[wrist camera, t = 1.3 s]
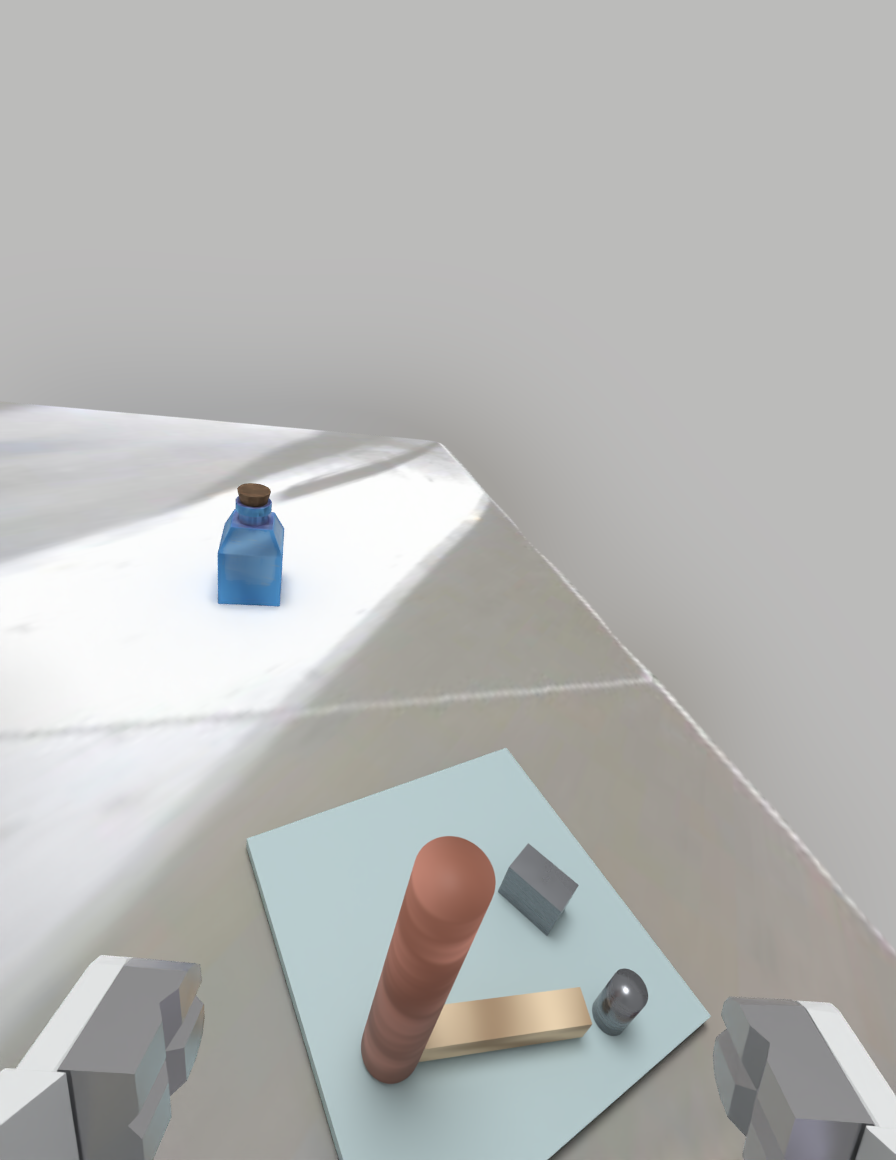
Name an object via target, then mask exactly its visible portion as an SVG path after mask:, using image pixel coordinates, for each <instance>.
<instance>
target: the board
mask: <svg viewBox="0 0 896 1160" xmlns="http://www.w3.org/2000/svg"><path fill="white" fill-rule="evenodd" d="M443 836H455V837H460V838H463V839H466V840H468V841H470V842H472V843H474V844H475V845H477V846H478V847H479V848H480V849H481V850H482V851H483V852H484V853H485V854H486V856H487V857H488V859H489V860H490V862H491V864H492V866H493V869H494V873H495V880H496V885H495V892H494V895H493V898H492V900H491V902H490V905H489V907H488V909H487V911H486V914H485V916H484V918H483V920H482V922H481V925H480V927H479V929H478V931H477V933H476V936H475V938H474V940H473V942H472V945H471V947H470V949H469V951H468V953H467V956H466V958H465V960H464V962H463V965H462V967H461V969H460V971H459V973H458V976H457V978H456V980H455V982H454V984H453V987H452V989H451V991H450V993H449V996H448V998H447V1000H446V1002H445V1004H451V1003H459V1002H467V1001H474V1000H482V999H490V998H498V997H506V996H513V995H521V994H529V993H537V992H545V991H552V990H560V989H568V988H576V987H580V988H581V991H582V994H583V997H584V1000H585V1003H586V1006H587V1009H588V1012H589V1015H590V1018H591V1021H592V1025H591V1027H590V1028H589V1029H588V1031H587V1032H586V1033H585V1034H584V1036H583V1037H579V1038H573V1039H566V1040H560V1041H553V1042H547V1043H540V1044H534V1045H527V1046H521V1047H514V1048H508V1049H501V1050H495V1051H488V1052H482V1053H475V1054H469V1055H463V1056H456V1057H450V1058H443V1059H437V1060H430V1061H424V1062H418V1064H417V1066H416V1068H415V1070H414V1071H413V1073H412V1074H411V1075H410V1076H409V1077H408V1078H406V1079H405V1080H403V1081H401V1082H399V1083H395V1084H386V1083H383V1082H380V1081H378V1080H377V1079H375V1078H374V1077H373V1076H372V1075H371V1074H370V1073H369V1072H368V1070H367V1068H366V1066H365V1064H364V1062H363V1058H362V1053H361V1041H362V1036H363V1032H364V1029H365V1026H366V1022H367V1019H368V1016H369V1012H370V1009H371V1006H372V1002H373V999H374V996H375V992H376V989H377V986H378V982H379V979H380V976H381V972H382V969H383V966H384V962H385V959H386V956H387V952H388V949H389V946H390V942H391V939H392V936H393V932H394V929H395V926H396V922H397V919H398V916H399V912H400V909H401V906H402V902H403V899H404V896H405V892H406V889H407V886H408V882H409V879H410V876H411V872H412V869H413V866H414V862H415V859H416V857H417V855H418V853H419V851H420V850H421V849H422V847H423V846H424V845H426V844H427V843H428V842H430V841H431V840H433V839H436V838H439V837H443ZM528 843H529V844H530V845H531V846H532V847H534V848H535V849H536V850H537V851H538V852H540V853H541V854H542V855H543V856H544V857H546V858H547V859H548V860H549V861H550V862H552V863H553V864H554V865H555V866H556V867H558V868H559V869H560V870H561V871H562V872H564V873H565V874H566V875H567V876H569V877H570V878H571V879H572V880H573V881H575V882H576V883H577V884H578V885H579V886H578V888H577V889H576V891H575V893H574V894H573V896H572V898H571V899H570V901H569V903H568V905H567V906H566V908H565V910H564V911H563V913H562V914H561V916H560V917H559V919H558V920H557V922H556V923H555V925H554V927H553V928H552V930H551V931H550V933H549V934H548V936H546V935H545V934H544V933H543V932H542V931H541V930H539V929H538V928H537V927H536V926H535V925H534V924H533V923H532V922H531V921H529V920H528V919H527V918H526V917H525V916H524V915H523V914H522V913H521V912H520V911H518V910H517V909H516V908H515V907H514V906H513V905H512V904H511V903H510V902H508V901H507V900H506V899H505V898H504V897H503V896H502V895H501V894H500V893H499V892H498V890H499V888H500V885H501V883H502V881H503V879H504V877H505V875H506V872H507V870H508V868H509V866H510V865H511V864H512V862H513V861H514V860H515V859H516V858H517V856H518V855H519V854H520V853H521V851H522V850H523V849H524V848H525V846H526V845H527V844H528ZM247 851H248V854H249V857H250V861H251V864H252V868H253V871H254V874H255V878H256V881H257V884H258V888H259V891H260V895H261V898H262V901H263V905H264V908H265V911H266V915H267V918H268V922H269V925H270V928H271V932H272V935H273V938H274V942H275V945H276V948H277V952H278V955H279V959H280V962H281V965H282V969H283V972H284V975H285V979H286V982H287V986H288V989H289V992H290V996H291V999H292V1002H293V1006H294V1009H295V1013H296V1016H297V1019H298V1023H299V1026H300V1029H301V1033H302V1036H303V1040H304V1043H305V1046H306V1050H307V1053H308V1056H309V1060H310V1063H311V1067H312V1070H313V1073H314V1077H315V1080H316V1083H317V1087H318V1090H319V1094H320V1097H321V1100H322V1104H323V1107H324V1110H325V1114H326V1117H327V1121H328V1124H329V1127H330V1131H331V1134H332V1137H333V1141H334V1144H335V1148H336V1151H337V1154H338V1158H339V1160H548V1159H549V1158H551V1157H552V1156H553V1155H554V1154H555V1153H556V1152H557V1151H559V1150H560V1149H561V1148H562V1147H563V1146H564V1145H565V1144H567V1143H568V1142H569V1141H570V1140H571V1139H572V1138H573V1137H575V1136H576V1135H577V1134H578V1133H579V1132H580V1131H581V1130H583V1129H584V1128H585V1127H586V1126H587V1125H588V1124H589V1123H590V1122H592V1121H593V1120H594V1119H595V1118H596V1117H597V1116H598V1115H600V1114H601V1113H602V1112H603V1111H604V1110H605V1109H606V1108H608V1107H609V1106H610V1105H611V1104H612V1103H613V1102H614V1101H616V1100H617V1099H618V1098H619V1097H620V1096H621V1095H622V1094H624V1093H625V1092H626V1091H627V1090H628V1089H629V1088H630V1087H632V1086H633V1085H634V1084H635V1083H636V1082H637V1081H638V1080H640V1079H641V1078H642V1077H643V1076H644V1075H645V1074H646V1073H647V1072H649V1071H650V1070H651V1069H652V1068H653V1067H654V1066H655V1065H657V1064H658V1063H659V1062H660V1061H661V1060H662V1059H663V1058H665V1057H666V1056H667V1055H668V1054H669V1053H670V1052H671V1051H673V1050H674V1049H675V1048H676V1047H677V1046H678V1045H679V1044H681V1043H682V1042H683V1041H684V1040H685V1039H686V1038H687V1037H689V1036H690V1035H691V1034H692V1033H693V1032H694V1031H695V1030H696V1029H698V1028H699V1027H700V1026H701V1025H702V1024H703V1023H704V1022H705V1021H706V1020H707V1019H709V1018H710V1017H711V1016H710V1014H709V1013H708V1012H707V1011H706V1009H705V1008H704V1007H703V1005H702V1004H701V1003H700V1001H699V1000H698V999H697V997H696V996H695V995H694V993H693V992H692V991H691V990H690V988H689V987H688V986H687V984H686V983H685V982H684V980H683V979H682V978H681V976H680V975H679V974H678V972H677V971H676V970H675V969H674V967H673V966H672V965H671V963H670V962H669V961H668V959H667V958H666V957H665V955H664V954H663V953H662V952H661V950H660V949H659V948H658V946H657V945H656V944H655V942H654V941H653V940H652V938H651V937H650V936H649V934H648V933H647V932H646V931H645V929H644V928H643V927H642V925H641V924H640V923H639V921H638V920H637V919H636V917H635V916H634V915H633V913H632V912H631V911H630V910H629V908H628V907H627V906H626V904H625V903H624V902H623V900H622V899H621V898H620V896H619V895H618V894H617V892H616V891H615V890H614V889H613V887H612V886H611V885H610V883H609V882H608V881H607V879H606V878H605V877H604V875H603V874H602V873H601V872H600V870H599V869H598V868H597V866H596V865H595V864H594V862H593V861H592V860H591V858H590V857H589V856H588V854H587V853H586V852H585V851H584V849H583V848H582V847H581V845H580V844H579V843H578V841H577V840H576V839H575V837H574V836H573V835H572V833H571V832H570V831H569V830H568V828H567V827H566V826H565V824H564V823H563V822H562V820H561V819H560V818H559V816H558V815H557V814H556V813H555V811H554V810H553V809H552V807H551V806H550V805H549V803H548V802H547V801H546V799H545V798H544V797H543V795H542V794H541V793H540V792H539V790H538V789H537V788H536V786H535V785H534V784H533V782H532V781H531V780H530V778H529V777H528V776H527V774H526V773H525V772H524V771H523V769H522V768H521V767H520V765H519V764H518V763H517V761H516V760H515V759H514V757H513V756H512V755H511V753H510V752H509V751H508V750H507V748H504V749H501V750H499V751H496V752H493V753H490V754H487V755H484V756H481V757H479V758H476V759H473V760H470V761H467V762H464V763H461V764H459V765H456V766H453V767H450V768H447V769H444V770H441V771H439V772H436V773H433V774H430V775H427V776H424V777H421V778H419V779H416V780H413V781H410V782H407V783H404V784H402V785H399V786H396V787H393V788H390V789H387V790H384V791H382V792H379V793H376V794H373V795H370V796H367V797H364V798H362V799H359V800H356V801H353V802H350V803H347V804H344V805H342V806H339V807H336V808H333V809H330V810H327V811H324V812H322V813H319V814H316V815H313V816H310V817H307V818H304V819H302V820H299V821H296V822H293V823H290V824H287V825H284V826H282V827H279V828H276V829H273V830H270V831H267V832H264V833H262V834H259V835H256V836H253V837H250V838H247ZM623 968H626V969H630V970H632V971H634V972H635V973H637V974H638V975H639V976H640V977H641V978H642V980H643V981H644V983H645V985H646V987H647V991H648V1001H647V1004H646V1005H645V1007H644V1008H643V1009H642V1010H641V1011H640V1012H639V1014H638V1015H637V1016H636V1017H635V1018H634V1019H633V1020H632V1022H631V1023H630V1024H629V1025H628V1026H627V1027H626V1028H625V1030H624V1031H623V1032H622V1033H621V1034H620V1035H617V1036H610V1035H607V1034H606V1033H604V1032H603V1031H602V1030H601V1029H600V1028H599V1027H598V1026H597V1024H596V1023H595V1020H594V1018H593V1014H592V1005H593V1002H594V1001H595V999H596V998H597V997H598V995H599V994H600V993H601V991H602V990H603V989H604V987H605V986H606V985H607V983H608V982H609V981H610V979H611V978H612V977H613V975H614V974H615V973H616V972H617V971H618V970H619V969H623Z"/></svg>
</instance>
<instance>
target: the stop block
mask: <svg viewBox="0 0 896 1160" xmlns="http://www.w3.org/2000/svg"><path fill="white" fill-rule="evenodd" d="M578 886H579V885H578V884H577V883H576V882H575V881H573V880H572V879H571V878H570V877H569V876H567V875H566V874H565V873H564V872H562V871H561V870H560V869H559V868H558V867H556V866H555V865H554V864H553V863H552V862H550V861H549V860H548V859H547V858H546V857H544V856H543V855H542V854H541V853H540V852H538V851H537V850H536V849H535V848H534V847H532V846H531V845H530V844H529V843H528V844H527V845H526V846H525V848H524V849H523V850H522V851H521V853H520V854H519V855H518V856H517V858H516V859H515V860H514V861H513V862H512V864H511V865H510V866H509V868H508V870H507V872H506V875H505V877H504V879H503V881H502V883H501V885H500V888H499V890H498V892H499V893H500V894H501V895H502V896H503V897H504V898H505V899H506V900H507V901H508V902H510V903H511V904H512V905H513V906H514V907H515V908H516V909H517V910H518V911H520V912H521V913H522V914H523V915H524V916H525V917H526V918H527V919H528V920H529V921H531V922H532V923H533V924H534V925H535V926H536V927H537V928H538V929H539V930H541V931H542V932H543V933H544V934H545V935H546V936H548V934H549V933H550V931H551V930H552V928H553V927H554V925H555V923H556V922H557V920H558V919H559V917H560V916H561V914H562V913H563V911H564V910H565V908H566V906H567V905H568V903H569V901H570V899H571V898H572V896H573V894H574V893H575V891H576V889H577V888H578Z"/></svg>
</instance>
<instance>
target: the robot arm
mask: <svg viewBox="0 0 896 1160" xmlns="http://www.w3.org/2000/svg"><path fill="white" fill-rule="evenodd" d="M201 982H202V976H201V968H200V964H195V963H185V962H175V961H164V960H154V959H144V958H131V957H119V956H106V955H100V956H99V957H98V958H97V959H96V960H94V961H93V962H92V963H91V964H90V965H89V966H88V967H87V969H86V970H85V971H84V973H83V974H82V976H81V977H80V978H79V980H78V981H77V983H76V984H75V985H74V987H73V988H72V990H71V991H70V993H69V994H68V995H67V997H66V998H65V1000H64V1001H63V1002H62V1004H61V1005H60V1007H59V1008H58V1009H57V1011H56V1012H55V1014H54V1015H53V1017H52V1018H51V1019H50V1021H49V1022H48V1024H47V1025H46V1026H45V1028H44V1029H43V1031H42V1032H41V1034H40V1035H39V1036H38V1038H37V1039H36V1041H35V1042H34V1043H33V1045H32V1046H31V1048H30V1049H29V1050H28V1052H27V1053H26V1055H25V1056H24V1058H23V1059H22V1060H21V1062H20V1063H19V1065H18V1066H17V1067H16V1069H12V1068H5V1069H3V1070H2V1071H1V1072H0V1160H153V1158H154V1156H155V1154H156V1151H157V1149H158V1147H159V1144H160V1142H161V1140H162V1137H163V1135H164V1133H165V1131H166V1128H167V1126H168V1124H169V1121H170V1119H171V1105H170V1096H171V1095H172V1094H173V1093H174V1092H175V1091H176V1090H177V1089H178V1088H179V1087H181V1086H182V1085H183V1084H184V1083H185V1082H186V1081H187V1079H188V1077H189V1074H190V1072H191V1069H192V1067H193V1064H194V1062H195V1059H196V1056H197V1053H198V1049H199V1045H200V1042H201V1038H202V1034H203V1025H204V1004H203V1003H202V1002H201V1000H200V999H199V998H198V997H197V996H196V993H197V991H198V989H199V987H200V985H201ZM721 1016H722V1018H723V1021H724V1023H725V1025H726V1027H727V1029H725V1030H724V1031H723V1032H722V1033H721V1034H720V1035H718V1036H717V1037H716V1040H715V1046H714V1052H713V1062H714V1073H715V1080H716V1084H717V1087H718V1091H719V1095H720V1098H721V1101H722V1103H723V1106H724V1109H725V1111H726V1114H727V1117H728V1118H729V1119H730V1120H731V1121H732V1122H733V1123H734V1124H735V1125H736V1127H737V1128H738V1129H739V1130H740V1131H741V1132H742V1133H743V1134H744V1135H745V1136H746V1139H745V1144H744V1150H743V1158H744V1160H896V1095H895V1094H894V1092H893V1091H892V1089H891V1088H890V1086H889V1085H888V1083H887V1082H886V1080H885V1079H884V1077H883V1076H882V1074H881V1073H880V1071H879V1070H878V1068H877V1067H876V1065H875V1064H874V1062H873V1061H872V1059H871V1058H870V1056H869V1055H868V1053H867V1052H866V1050H865V1049H864V1047H863V1046H862V1044H861V1043H860V1041H859V1040H858V1038H857V1037H856V1035H855V1034H854V1032H853V1031H852V1029H851V1028H850V1026H849V1024H848V1023H847V1021H846V1020H845V1018H844V1017H843V1015H842V1014H841V1013H840V1011H839V1010H838V1009H837V1008H836V1007H835V1006H833V1005H832V1004H831V1003H823V1002H808V1001H793V1000H788V999H767V998H747V997H729V998H728V999H727V1000H726V1001H725V1002H724V1005H723V1009H722V1013H721Z"/></svg>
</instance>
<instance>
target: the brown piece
mask: <svg viewBox="0 0 896 1160" xmlns="http://www.w3.org/2000/svg"><path fill="white" fill-rule="evenodd" d="M495 885H496V880H495V873H494V869H493V866H492V864H491V862H490V860H489V859H488V857H487V856H486V854H485V853H484V852H483V851H482V850H481V849H480V848H479V847H478V846H477V845H475V844H474V843H472V842H470V841H468V840H466V839H463V838H460V837H455V836H443V837H439V838H436V839H433V840H431V841H430V842H428V843H427V844H426V845H424V846H423V847H422V849H421V850H420V851H419V853H418V855H417V857H416V859H415V862H414V866H413V869H412V872H411V876H410V879H409V882H408V886H407V889H406V892H405V896H404V899H403V902H402V906H401V909H400V912H399V916H398V919H397V922H396V926H395V929H394V932H393V936H392V939H391V942H390V946H389V949H388V952H387V956H386V959H385V962H384V966H383V969H382V972H381V976H380V979H379V982H378V986H377V989H376V992H375V996H374V999H373V1002H372V1006H371V1009H370V1012H369V1016H368V1019H367V1022H366V1026H365V1029H364V1032H363V1036H362V1041H361V1053H362V1058H363V1062H364V1064H365V1066H366V1068H367V1070H368V1072H369V1073H370V1074H371V1075H372V1076H373V1077H374V1078H375V1079H377V1080H378V1081H380V1082H383V1083H386V1084H395V1083H399V1082H401V1081H403V1080H405V1079H406V1078H408V1077H409V1076H410V1075H411V1074H412V1073H413V1071H414V1070H415V1068H416V1066H417V1064H418V1062H424V1061H430V1060H437V1059H443V1058H450V1057H456V1056H463V1055H469V1054H475V1053H482V1052H488V1051H495V1050H501V1049H508V1048H514V1047H521V1046H527V1045H534V1044H540V1043H547V1042H553V1041H560V1040H566V1039H573V1038H579V1037H583V1036H584V1034H585V1033H586V1032H587V1031H588V1029H589V1028H590V1027H591V1025H592V1021H591V1018H590V1015H589V1012H588V1009H587V1006H586V1003H585V1000H584V997H583V994H582V991H581V988H580V987H576V988H568V989H560V990H552V991H545V992H537V993H529V994H521V995H513V996H506V997H498V998H490V999H482V1000H474V1001H467V1002H459V1003H451V1004H445V1002H446V1000H447V998H448V996H449V993H450V991H451V989H452V987H453V984H454V982H455V980H456V978H457V976H458V973H459V971H460V969H461V967H462V965H463V962H464V960H465V958H466V956H467V953H468V951H469V949H470V947H471V945H472V942H473V940H474V938H475V936H476V933H477V931H478V929H479V927H480V925H481V922H482V920H483V918H484V916H485V914H486V911H487V909H488V907H489V905H490V902H491V900H492V898H493V895H494V892H495Z"/></svg>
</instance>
